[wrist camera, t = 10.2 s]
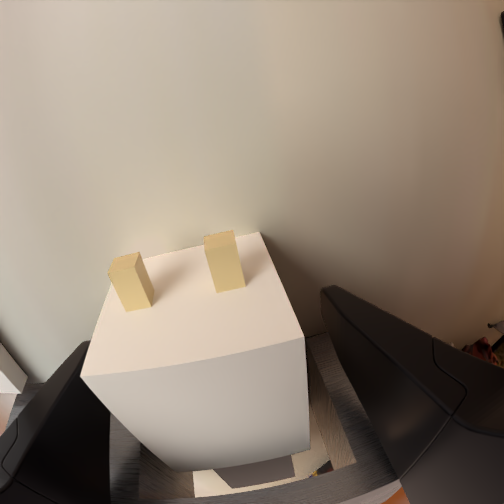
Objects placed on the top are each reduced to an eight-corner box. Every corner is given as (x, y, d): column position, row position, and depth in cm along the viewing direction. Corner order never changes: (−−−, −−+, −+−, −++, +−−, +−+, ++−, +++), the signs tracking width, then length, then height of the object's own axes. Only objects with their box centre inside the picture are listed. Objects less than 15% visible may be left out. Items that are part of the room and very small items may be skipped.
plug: (253, 197, 8) (300, 287, 4) (291, 424, 13) (310, 491, 10) (106, 232, 7) (50, 336, 4) (215, 440, 13) (224, 507, 10)
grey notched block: (344, 326, 10) (420, 468, 5) (340, 396, 13) (385, 501, 8) (21, 384, 10) (-10, 491, 4) (77, 437, 12) (66, 528, 7)
